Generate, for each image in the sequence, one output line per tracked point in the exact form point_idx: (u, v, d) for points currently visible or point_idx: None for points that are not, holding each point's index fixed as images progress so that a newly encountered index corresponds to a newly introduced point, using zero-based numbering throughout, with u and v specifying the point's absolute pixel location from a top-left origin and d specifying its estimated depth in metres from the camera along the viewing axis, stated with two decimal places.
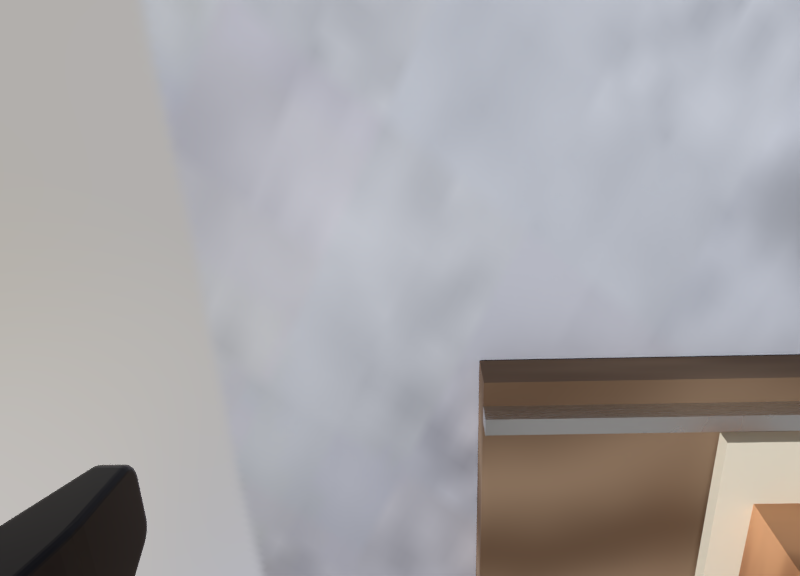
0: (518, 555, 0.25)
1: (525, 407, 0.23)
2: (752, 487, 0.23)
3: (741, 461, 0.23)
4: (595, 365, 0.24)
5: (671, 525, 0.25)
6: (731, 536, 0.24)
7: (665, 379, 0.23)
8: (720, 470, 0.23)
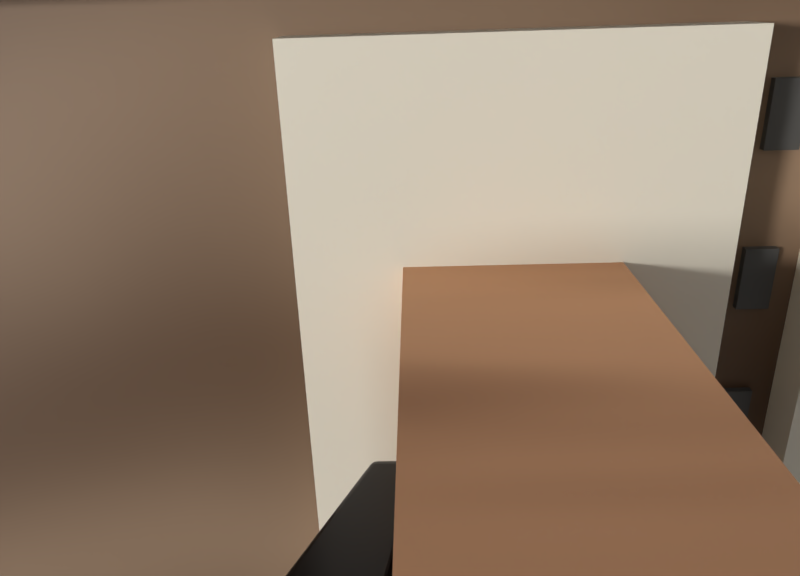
0: None
1: None
2: (387, 209, 0.08)
3: (332, 112, 0.07)
4: None
5: (231, 358, 0.09)
6: (364, 377, 0.08)
7: None
8: (285, 154, 0.08)
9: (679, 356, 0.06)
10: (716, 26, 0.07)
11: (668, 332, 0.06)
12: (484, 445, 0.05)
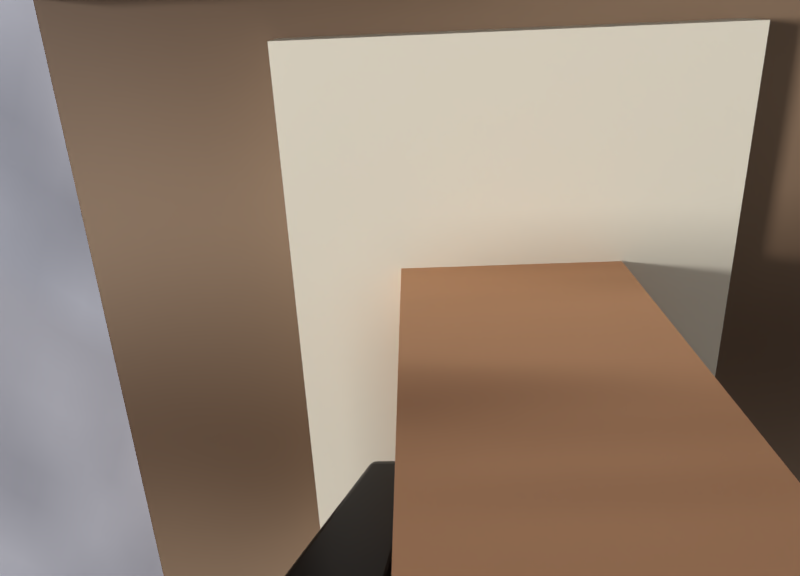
0: (233, 444, 0.10)
1: None
2: (385, 210, 0.08)
3: (329, 114, 0.07)
4: None
5: None
6: (364, 379, 0.08)
7: None
8: (282, 157, 0.08)
9: (678, 355, 0.06)
10: (712, 23, 0.07)
11: (667, 331, 0.06)
12: (483, 445, 0.05)
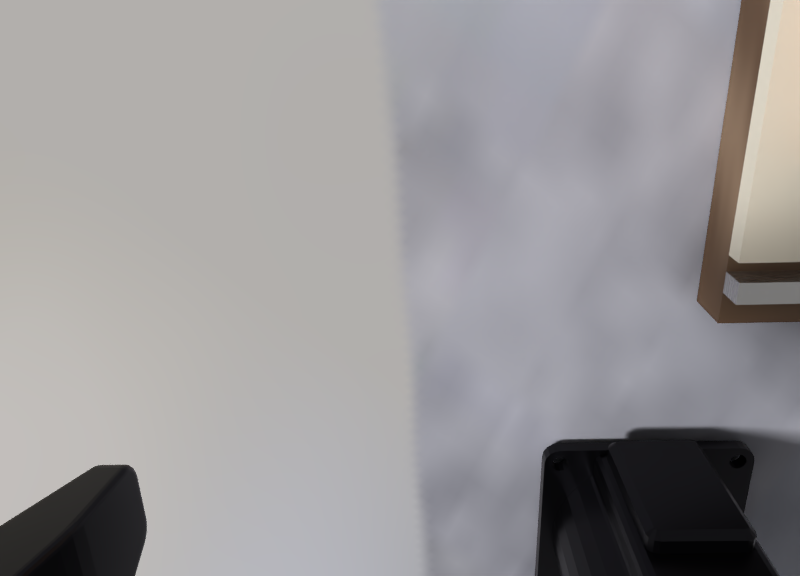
0: None
1: None
2: None
3: None
4: None
5: None
6: None
7: None
8: None
9: None
10: None
11: None
12: None
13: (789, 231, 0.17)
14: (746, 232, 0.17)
